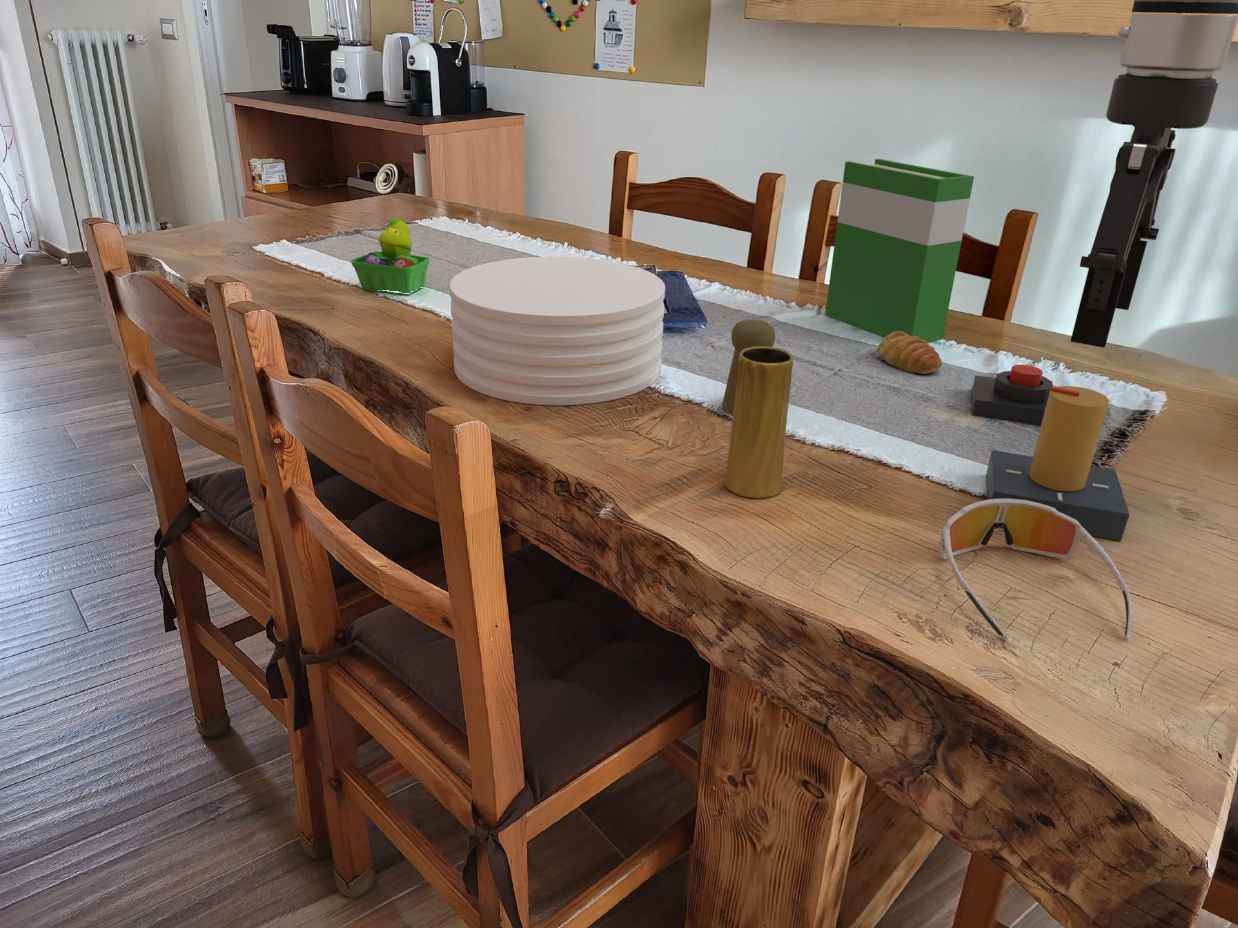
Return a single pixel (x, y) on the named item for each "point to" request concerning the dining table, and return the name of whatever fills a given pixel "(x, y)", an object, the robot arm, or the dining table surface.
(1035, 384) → the button
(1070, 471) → the yellow round cylinder
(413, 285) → the fruit basket
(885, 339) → the pastry
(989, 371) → the dining table surface
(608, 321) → the plate stack
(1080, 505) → the knob panel
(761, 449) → the vase
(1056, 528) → the sunglasses
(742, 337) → the pepper mill
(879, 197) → the green cereal box
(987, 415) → the button box
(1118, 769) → the dining table surface
